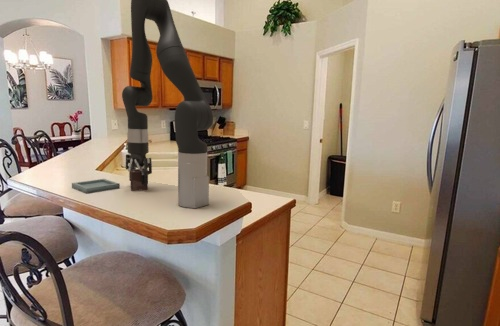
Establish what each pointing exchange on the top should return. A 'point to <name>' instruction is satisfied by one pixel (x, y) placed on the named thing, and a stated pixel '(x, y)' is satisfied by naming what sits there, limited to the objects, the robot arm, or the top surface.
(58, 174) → the top surface
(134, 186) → the box
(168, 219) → the top surface
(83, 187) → the tray
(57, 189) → the top surface
